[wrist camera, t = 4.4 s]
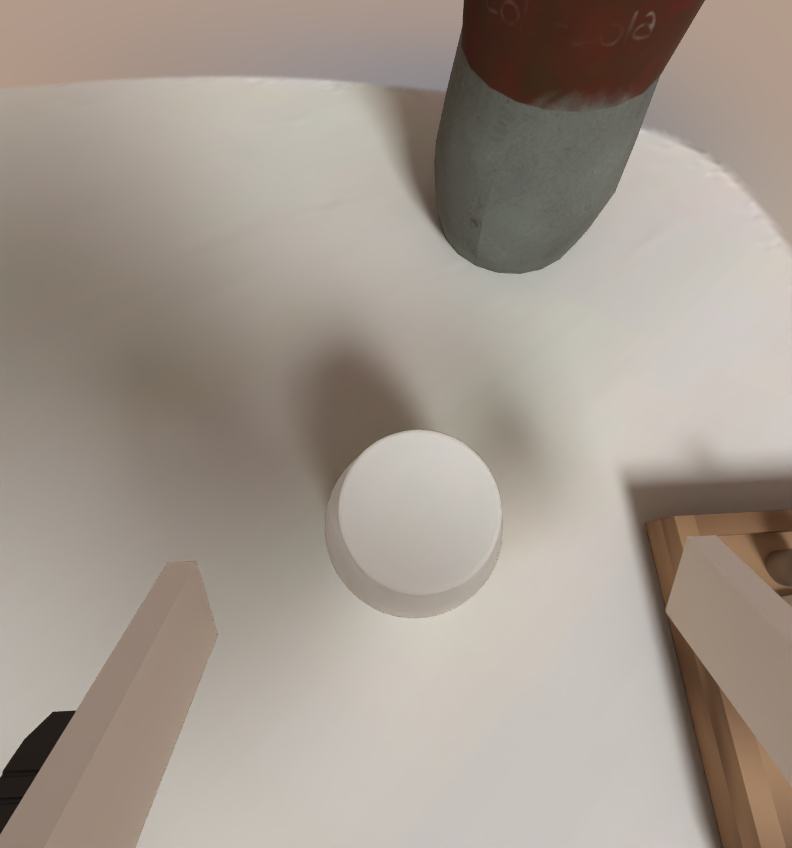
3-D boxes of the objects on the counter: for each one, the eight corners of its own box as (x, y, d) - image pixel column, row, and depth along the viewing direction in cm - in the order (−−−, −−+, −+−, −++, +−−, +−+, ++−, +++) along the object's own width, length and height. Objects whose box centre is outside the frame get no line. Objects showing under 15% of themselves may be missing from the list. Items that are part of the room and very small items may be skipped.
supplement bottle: (327, 581, 19) (267, 577, 10) (371, 466, 21) (353, 376, 12) (448, 626, 19) (497, 666, 10) (482, 504, 20) (552, 440, 11)
